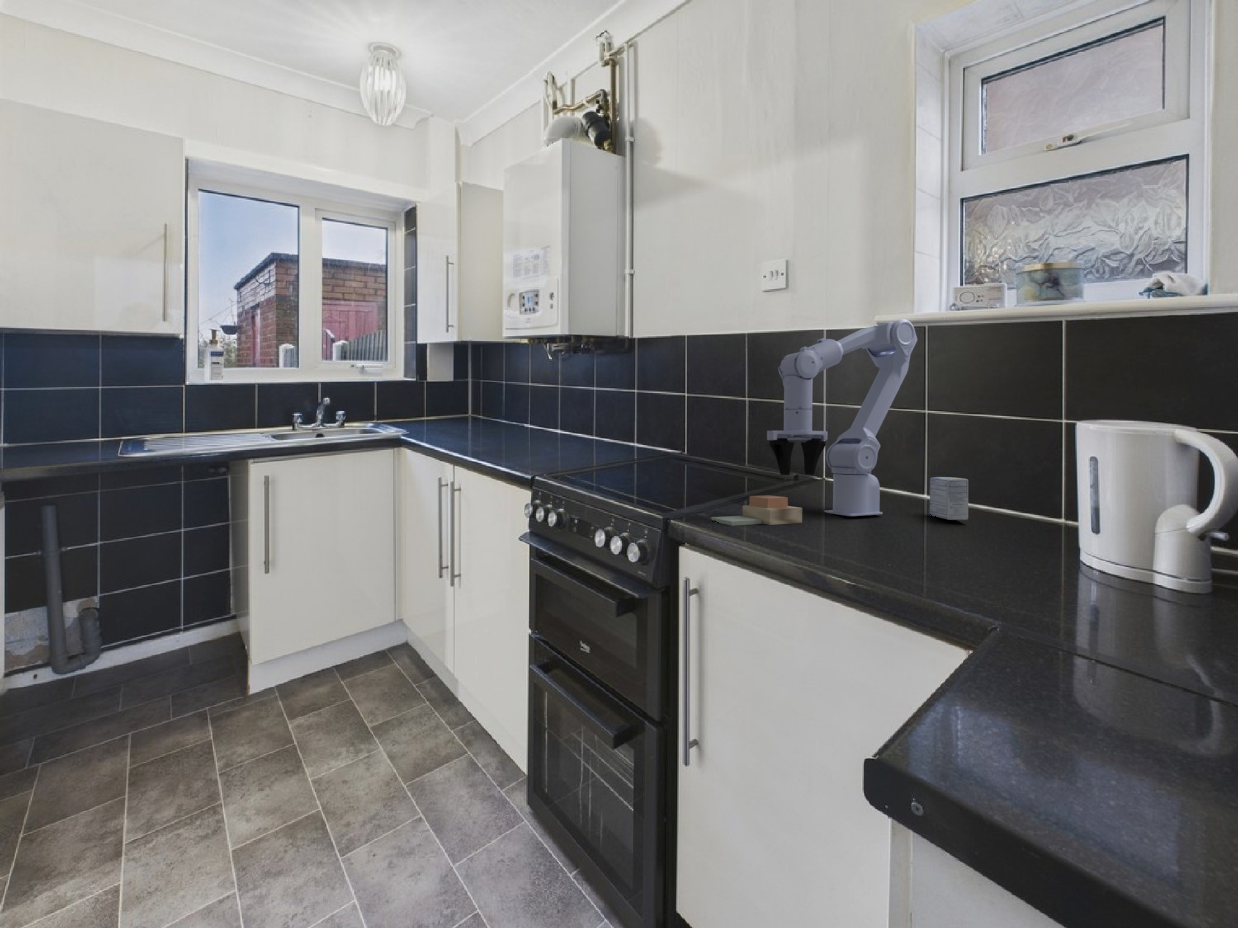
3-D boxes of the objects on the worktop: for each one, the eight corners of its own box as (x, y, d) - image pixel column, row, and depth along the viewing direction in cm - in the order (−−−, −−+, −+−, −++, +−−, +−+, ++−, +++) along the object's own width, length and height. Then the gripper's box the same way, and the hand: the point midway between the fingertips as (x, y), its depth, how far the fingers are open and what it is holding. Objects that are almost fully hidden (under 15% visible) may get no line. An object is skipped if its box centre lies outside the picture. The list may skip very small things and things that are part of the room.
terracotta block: (768, 504, 128) (768, 495, 128) (787, 507, 123) (787, 497, 123) (749, 505, 126) (749, 496, 126) (767, 508, 121) (767, 498, 121)
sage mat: (739, 519, 127) (739, 515, 127) (761, 523, 120) (761, 519, 120) (710, 521, 124) (710, 517, 124) (732, 525, 117) (732, 521, 117)
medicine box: (968, 520, 127) (969, 479, 127) (947, 520, 127) (948, 478, 127) (949, 515, 135) (949, 477, 135) (928, 515, 135) (929, 476, 135)
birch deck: (773, 517, 130) (773, 503, 130) (802, 522, 122) (802, 507, 122) (742, 519, 127) (742, 505, 127) (770, 524, 119) (770, 509, 119)
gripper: (811, 411, 134) (810, 473, 134) (758, 410, 128) (757, 474, 128) (835, 410, 127) (834, 474, 128) (779, 408, 121) (779, 476, 122)
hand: (797, 474), depth 128 cm, fingers open, 6 cm apart
